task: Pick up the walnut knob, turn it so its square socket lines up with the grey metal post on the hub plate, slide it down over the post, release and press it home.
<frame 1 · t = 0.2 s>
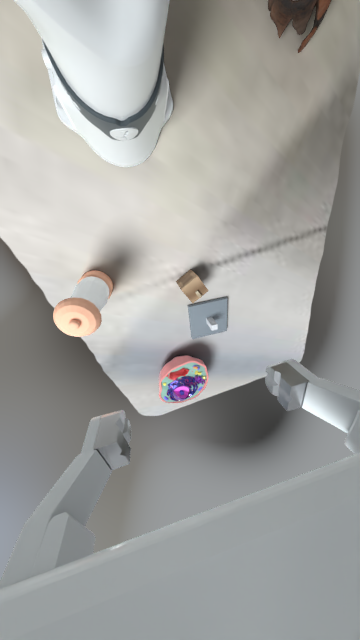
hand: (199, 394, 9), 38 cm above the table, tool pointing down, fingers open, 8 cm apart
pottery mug: (293, 4, 27), on the table
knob: (188, 282, 47), on the table
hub: (207, 317, 54), on the table
cell model: (178, 365, 63), on the table
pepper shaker: (97, 284, 42), on the table
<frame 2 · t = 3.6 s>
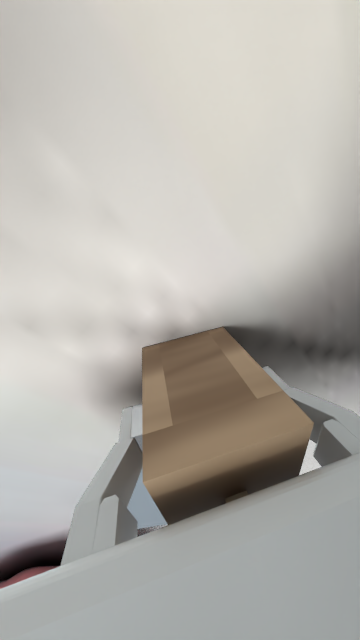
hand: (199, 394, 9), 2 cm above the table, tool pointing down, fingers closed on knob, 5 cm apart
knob: (189, 368, 11), on the table, touching gripper
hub: (189, 477, 17), on the table
cell model: (39, 570, 20), on the table
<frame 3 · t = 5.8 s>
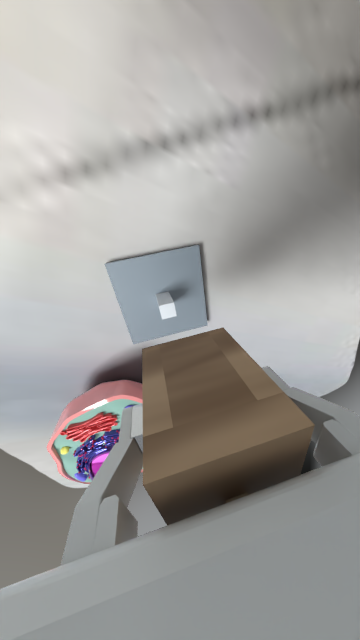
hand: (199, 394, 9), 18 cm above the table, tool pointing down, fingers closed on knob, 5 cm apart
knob: (189, 369, 11), point 16 cm above the table, touching gripper
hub: (162, 296, 25), on the table
cell model: (120, 399, 32), on the table
when the fingers open (4 cm above the table, at t = 8.5 s): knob drops 1 cm, resting on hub.
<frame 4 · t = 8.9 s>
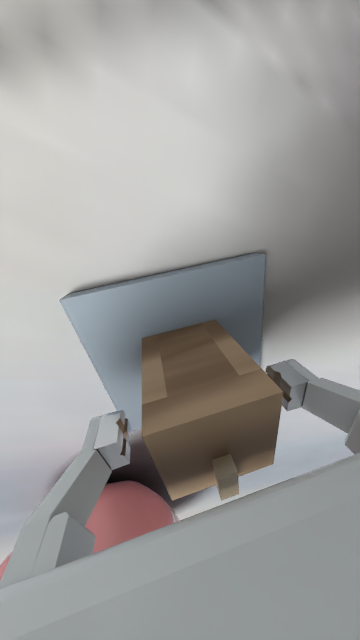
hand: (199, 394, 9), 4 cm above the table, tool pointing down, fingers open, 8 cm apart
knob: (185, 358, 12), point 1 cm above the table, touching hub
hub: (182, 349, 13), on the table
cell model: (110, 494, 20), on the table
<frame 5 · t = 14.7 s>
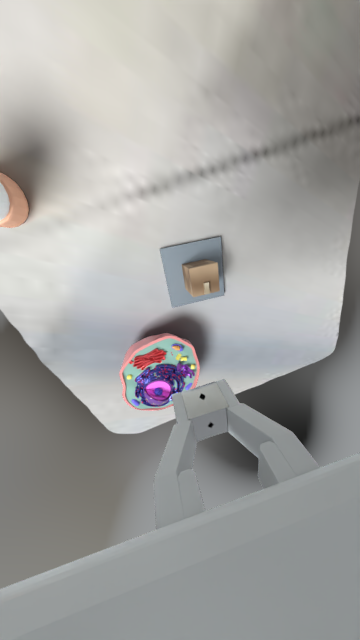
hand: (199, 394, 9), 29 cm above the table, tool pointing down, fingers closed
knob: (195, 274, 35), point 1 cm above the table, touching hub
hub: (193, 273, 36), on the table
cell model: (157, 354, 43), on the table
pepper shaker: (0, 200, 26), on the table
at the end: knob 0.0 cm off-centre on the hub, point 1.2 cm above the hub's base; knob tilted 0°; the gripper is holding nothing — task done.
